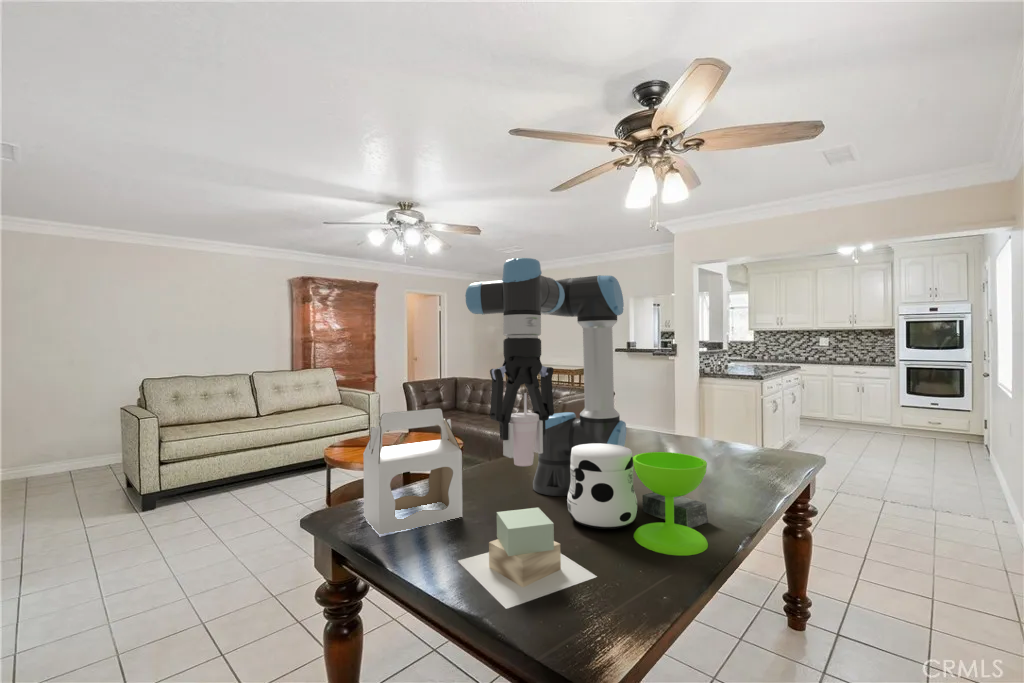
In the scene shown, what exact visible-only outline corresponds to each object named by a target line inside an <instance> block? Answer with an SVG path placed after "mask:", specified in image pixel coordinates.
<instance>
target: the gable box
mask: <svg viewBox="0 0 1024 683" xmlns="http://www.w3.org/2000/svg"><path fill="white" fill-rule="evenodd" d="M379 421H380V422H379V424H378V425H376V426H371V427H370V434H369V441H368V443H367V445H366V446H365V449H364V451H363V453H362V454H363V518H364V517H365V518H366V519H367V520H368V521H369V523H370V524H371V525H372V526H373V528H374V529H375V530H376V531H377V532H378V533H379V534H384V533H389V532H395V531H401V530H406V529H412V528H416V527H420V526H425V525H429V524H433V523H437V522H442V523H444V522H443V521H446V522H448V521H447V520H450V519H455V518H459V517H462V518H463V454H462V453H463V451H462V449H461V446H460V444H459V442H458V440H457V438H456V436H455V435H454V432H453V430H452V421H451V418H444V415H443V410H442V409H441V408H439V407H438V408H437V407H435V408H426V409H424V408H423V409H417V410H415V409H414V410H404V411H392V412H383V413H382V414H381V416H379ZM437 426H438V427H439V428H440V439H434V440H427V441H420V442H419V441H418V442H412V443H402V444H397V445H396V444H395V445H389V446H383V436H384V433H387V432H388V433H389V432H392V431H398V430H399V431H400V430H408V429H409V430H411V429H418V428H427V427H428V428H429V427H437ZM408 472H429V475H428V492H427V493H426V494H425V495H413V494H412V495H403V496H400V497H398V498H396V499H395V497H394V495H393V492H392V489H391V483H392V479H394V478H395V477H396V476H398V475H400V474H403V473H408ZM437 502H442V503H444V504H445V505H446V506H447V507H446V508H445V509H442V510H422V511H419V512H416V513H414V514H412V515H410V516H408V517H406V518H404V519H397V518H396V517H395V510H401V509H408V508H412V507H417V506H421V505H427V504H432V503H437ZM459 519H460V518H459ZM455 520H456V519H455ZM450 521H451V520H450Z"/></svg>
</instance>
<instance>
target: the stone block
mask: <svg viewBox="0 0 1024 683" xmlns="http://www.w3.org/2000/svg"><path fill="white" fill-rule="evenodd" d="M642 512H644V513H646V514H649V515H650V516H653V517H655V518H660V519H663V520H665V496H662V495H660V494H657V493H654V492H653V491H652V492H650V493H644V494H642ZM708 518H709V516H708V511H707V503H706V502H703V501H698V500H697V499H696V500H695V499H691V498H688V497H685V496H678V497H674V524H680V525H683V526H687V527H689V528H692V529H694V528H696V527H698V526H699V527H700V526H701V525H703V524H709V519H708Z"/></svg>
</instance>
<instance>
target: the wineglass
mask: <svg viewBox="0 0 1024 683" xmlns="http://www.w3.org/2000/svg"><path fill="white" fill-rule="evenodd" d="M707 466H708V462H707V461H706V460H705V459H703V458H701V457H698V456H695V455H691V454H685V453H679V452H670V451H652V452H651V451H649V452H643V453H638V454H635V455H634V456H633V470H634V471H635V473H636V475H637V478H638V479H639V480H640V482H641V483H642V484H643V486H645V487H646V488H647V489H649V490H650V491H651V492H652V493H653V492H654V493H657V494H660V495H662V496H665V519H664V521H665V522H660V521H659V522H650V523H646V524H642V525H640V526H639V527H638V528H636V530H635V531H634V533H633V538H634V541H635V542H636V543H637V544H638V545H640V546H641V547H644V548H645V549H647V550H650V551H653V552H655V553H659V554H664V555H668V556H677V557H678V556H679V557H680V556H682V557H683V556H692V555H693V556H694V555H698V554H702V553H703V552H705V551H706V550H707V549H708V547H709V543H708V540H707V538H706V537H705V536H704V535H703V534H702V533H701V532H699V531H697V530H696V529H694V528H689V527H687V526H683V525H680V524H674V497H678V496H682V497H685V496H686V495H688V494H690V493H691V492H693V491H695V490H696V489H697V488H698V487H699V486H700V485H701V483H702V482H703V480H704V477H705V475H706V473H707Z"/></svg>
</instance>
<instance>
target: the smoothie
mask: <svg viewBox="0 0 1024 683" xmlns="http://www.w3.org/2000/svg"><path fill="white" fill-rule="evenodd" d="M527 394H528V392H523V412H512V414H511V418H510V422H509V423H513V438H514V458H513V464H514V465H515V466H517V467H529V466H532V465H533V464H534V456H535V452H534V449H535V440H536V431H537V422H538V420H539V415H538V414H536V413H534V412H528V402H527V401H528V399H527V398H528V396H527Z"/></svg>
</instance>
